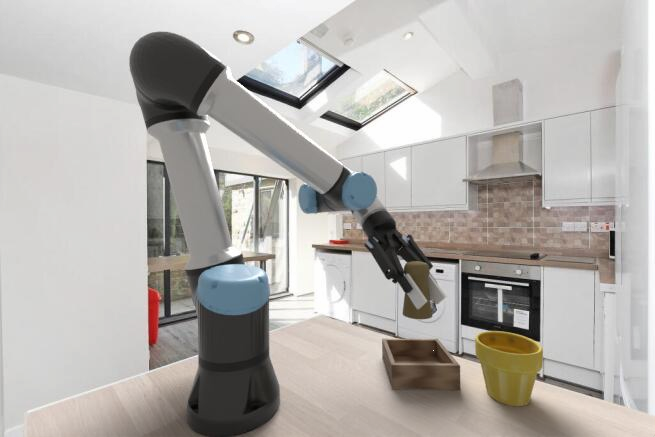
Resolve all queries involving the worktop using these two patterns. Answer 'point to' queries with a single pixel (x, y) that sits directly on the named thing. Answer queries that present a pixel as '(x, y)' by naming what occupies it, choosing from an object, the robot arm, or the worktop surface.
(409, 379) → the walnut crate
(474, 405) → the worktop surface
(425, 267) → the cork
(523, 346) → the plant pot
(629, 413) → the worktop surface
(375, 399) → the worktop surface
